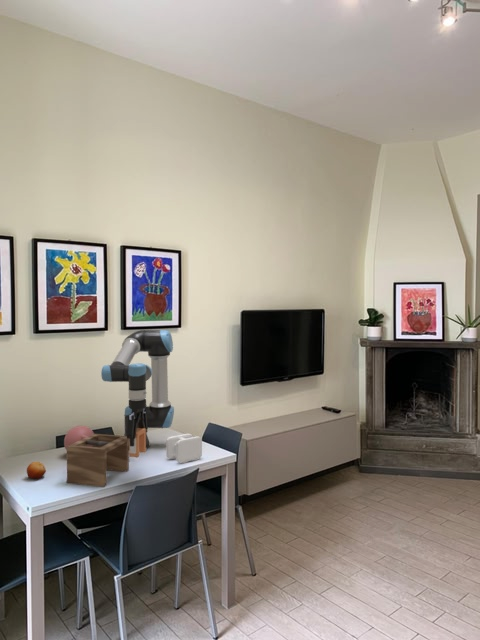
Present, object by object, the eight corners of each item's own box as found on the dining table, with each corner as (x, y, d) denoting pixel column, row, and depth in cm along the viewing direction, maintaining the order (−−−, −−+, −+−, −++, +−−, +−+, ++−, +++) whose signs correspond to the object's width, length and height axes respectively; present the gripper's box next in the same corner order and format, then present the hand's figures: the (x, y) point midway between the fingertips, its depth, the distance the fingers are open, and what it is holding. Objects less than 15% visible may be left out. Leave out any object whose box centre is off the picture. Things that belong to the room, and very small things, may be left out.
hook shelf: (94, 466, 227) (94, 433, 227) (128, 470, 223) (128, 436, 222) (66, 482, 206) (66, 446, 206) (104, 487, 201) (103, 449, 201)
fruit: (26, 471, 216) (35, 456, 216) (41, 480, 216) (50, 465, 217) (19, 478, 208) (29, 462, 208) (35, 487, 208) (44, 471, 209)
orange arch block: (129, 456, 206) (129, 432, 206) (137, 450, 214) (137, 427, 214) (137, 457, 205) (137, 433, 205) (145, 451, 213) (145, 428, 213)
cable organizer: (176, 465, 230) (176, 441, 230) (165, 459, 239) (165, 436, 238) (202, 459, 240) (202, 436, 240) (190, 454, 248) (190, 432, 248)
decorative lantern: (72, 465, 230) (72, 433, 230) (60, 455, 246) (59, 425, 246) (103, 459, 239) (103, 428, 239) (89, 449, 255) (89, 421, 255)
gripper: (134, 404, 198) (134, 458, 199) (155, 394, 218) (155, 443, 219) (117, 403, 200) (118, 456, 201) (140, 394, 220) (140, 442, 221)
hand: (137, 450), depth 210 cm, fingers closed on orange arch block, 8 cm apart
